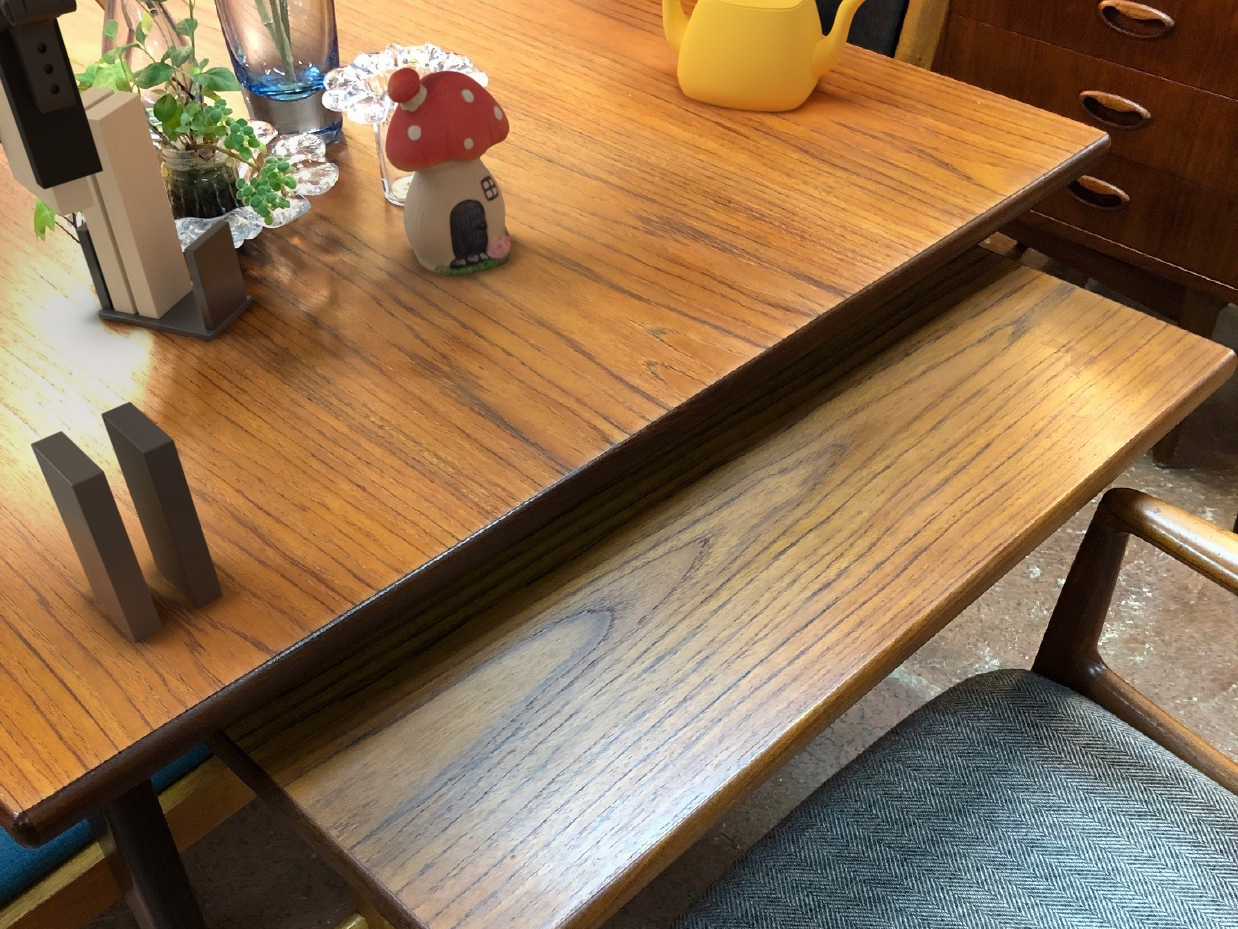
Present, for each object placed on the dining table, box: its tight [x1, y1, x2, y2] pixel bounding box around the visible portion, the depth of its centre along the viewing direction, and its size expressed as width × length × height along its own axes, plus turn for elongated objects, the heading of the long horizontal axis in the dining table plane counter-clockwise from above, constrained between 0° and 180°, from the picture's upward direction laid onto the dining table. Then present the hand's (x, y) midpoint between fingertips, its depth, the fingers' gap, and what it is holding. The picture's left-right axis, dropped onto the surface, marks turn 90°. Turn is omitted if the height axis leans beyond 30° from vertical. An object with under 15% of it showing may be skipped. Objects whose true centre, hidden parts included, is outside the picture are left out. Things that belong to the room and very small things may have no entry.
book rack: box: [75, 219, 254, 342], centre depth 83 cm, size 9×6×7 cm, turn 72°
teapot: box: [661, 0, 866, 113], centre depth 113 cm, size 22×16×11 cm
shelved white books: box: [80, 86, 193, 319], centre depth 81 cm, size 4×4×14 cm
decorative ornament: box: [384, 67, 512, 276], centre depth 87 cm, size 9×7×15 cm
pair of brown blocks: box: [30, 401, 224, 643], centre depth 61 cm, size 5×4×11 cm
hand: (41, 154), depth 53 cm, fingers closed on white book, 5 cm apart
